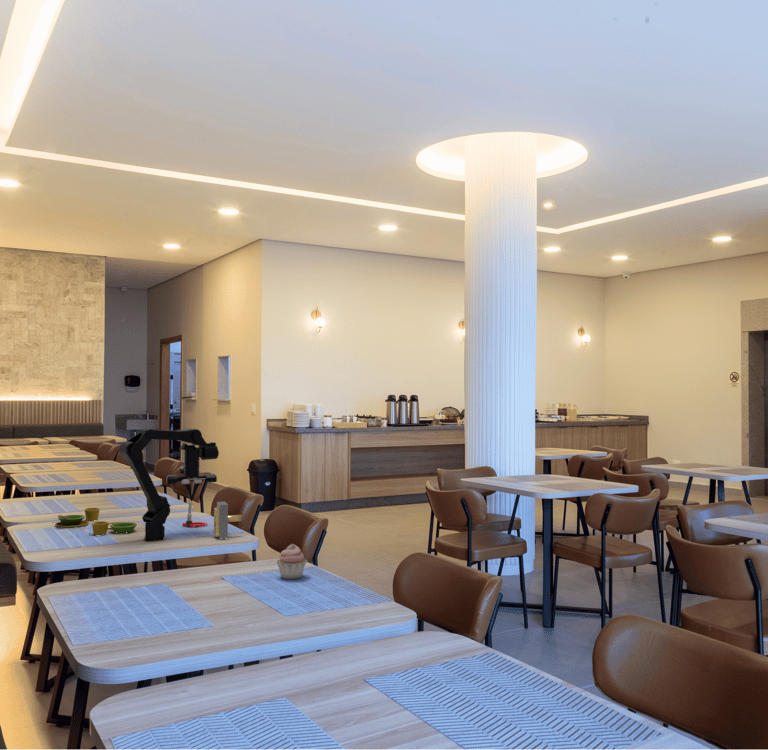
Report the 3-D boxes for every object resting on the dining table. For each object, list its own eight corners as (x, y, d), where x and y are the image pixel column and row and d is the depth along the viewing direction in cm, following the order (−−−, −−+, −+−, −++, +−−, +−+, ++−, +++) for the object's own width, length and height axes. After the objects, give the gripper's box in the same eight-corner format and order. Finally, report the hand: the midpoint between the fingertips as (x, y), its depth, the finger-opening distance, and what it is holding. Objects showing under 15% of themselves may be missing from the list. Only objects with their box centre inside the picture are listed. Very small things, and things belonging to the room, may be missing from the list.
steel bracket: (219, 539, 268) (220, 504, 268) (216, 535, 275) (217, 501, 276) (227, 539, 269) (228, 504, 269) (224, 535, 276) (224, 501, 277)
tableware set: (49, 524, 299) (50, 509, 300) (118, 518, 315) (118, 503, 315) (67, 541, 265) (68, 524, 265) (143, 533, 281) (143, 517, 281)
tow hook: (197, 524, 302) (180, 526, 294) (199, 493, 303) (182, 495, 295) (211, 526, 297) (194, 528, 290) (213, 495, 298) (195, 496, 290)
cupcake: (278, 582, 208) (278, 547, 208) (274, 574, 217) (274, 541, 217) (309, 580, 210) (310, 546, 210) (304, 572, 219) (305, 539, 219)
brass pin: (215, 536, 268) (216, 510, 269) (213, 533, 274) (214, 507, 274) (242, 534, 272) (242, 508, 272) (239, 532, 277) (240, 506, 278)
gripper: (213, 458, 289) (213, 496, 288) (166, 459, 283) (165, 498, 282) (217, 460, 278) (216, 500, 278) (167, 462, 272) (166, 503, 272)
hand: (191, 500), depth 278 cm, fingers closed
